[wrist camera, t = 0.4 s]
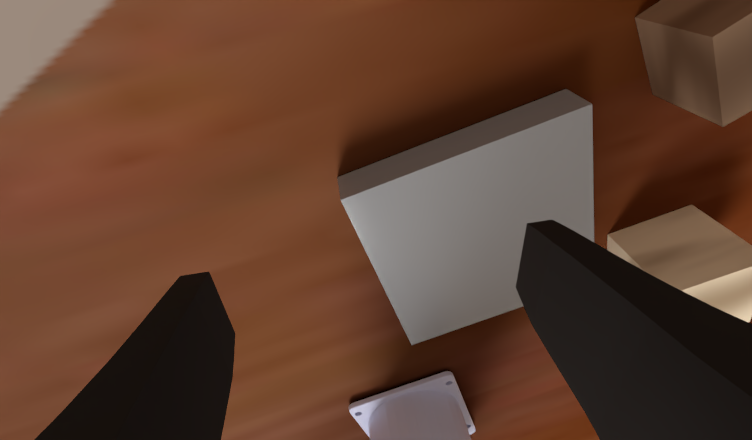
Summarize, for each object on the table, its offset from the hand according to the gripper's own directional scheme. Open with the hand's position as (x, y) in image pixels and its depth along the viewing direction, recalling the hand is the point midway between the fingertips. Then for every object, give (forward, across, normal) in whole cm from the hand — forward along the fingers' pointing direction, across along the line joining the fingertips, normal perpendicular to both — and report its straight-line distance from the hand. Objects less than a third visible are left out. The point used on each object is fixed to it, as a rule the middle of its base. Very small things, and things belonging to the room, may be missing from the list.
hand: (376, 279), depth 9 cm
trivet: (+10, -6, +6) cm, 13 cm away
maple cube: (+10, -18, +11) cm, 23 cm away
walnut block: (+10, -15, -2) cm, 18 cm away
